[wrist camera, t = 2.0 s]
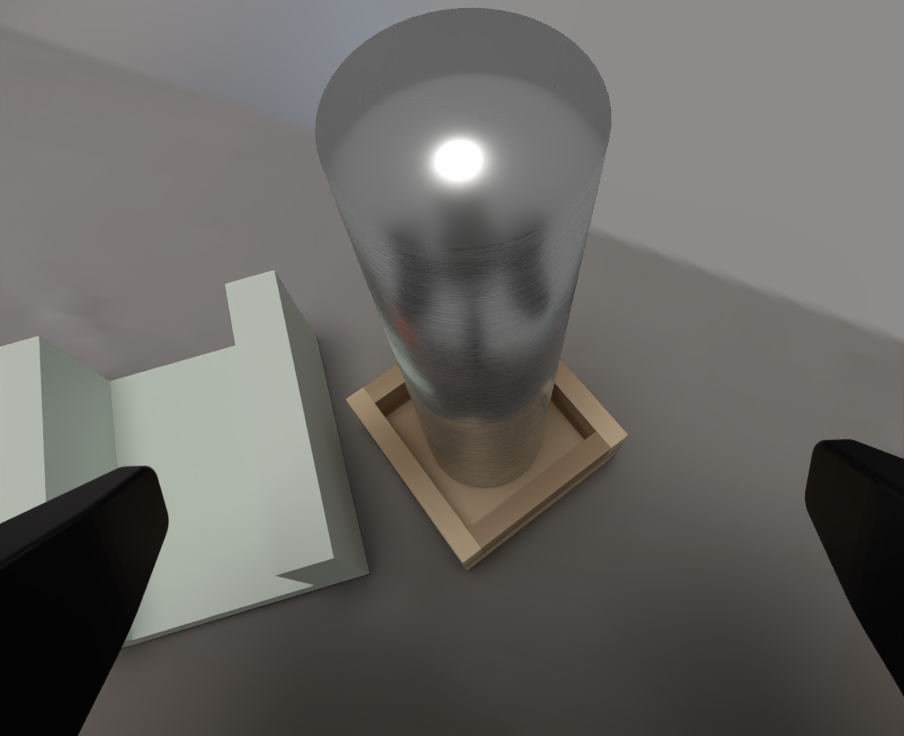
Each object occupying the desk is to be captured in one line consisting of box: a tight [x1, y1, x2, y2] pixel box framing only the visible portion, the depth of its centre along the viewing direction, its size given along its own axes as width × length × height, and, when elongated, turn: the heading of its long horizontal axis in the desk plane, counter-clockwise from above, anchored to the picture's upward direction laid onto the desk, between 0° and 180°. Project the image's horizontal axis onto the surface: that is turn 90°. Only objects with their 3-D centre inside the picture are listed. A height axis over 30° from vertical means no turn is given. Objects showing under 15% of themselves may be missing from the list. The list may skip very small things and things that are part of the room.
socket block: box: [346, 359, 628, 571], centre depth 19 cm, size 6×6×2 cm
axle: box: [315, 8, 611, 488], centre depth 14 cm, size 3×3×13 cm
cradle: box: [0, 270, 370, 648], centre depth 18 cm, size 8×8×4 cm
